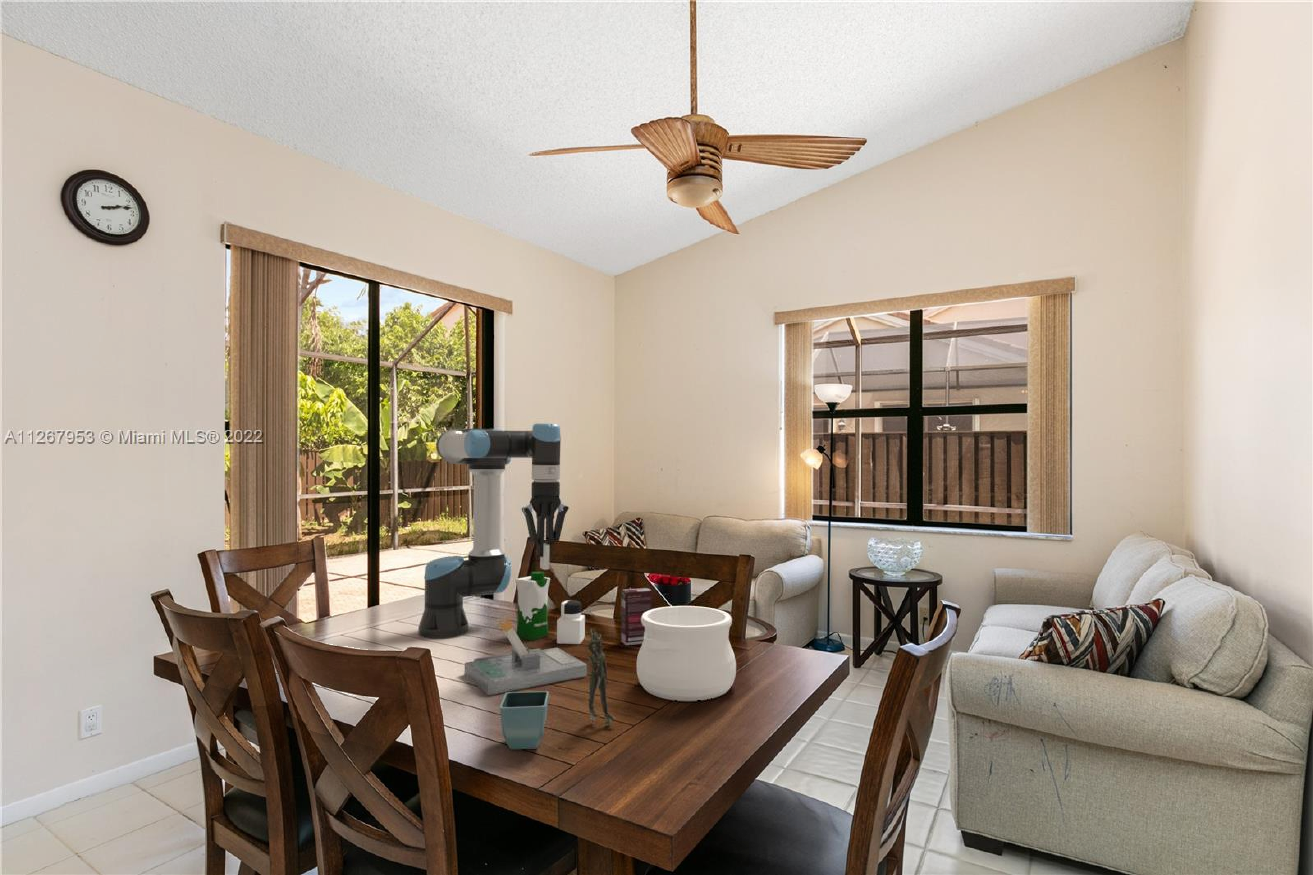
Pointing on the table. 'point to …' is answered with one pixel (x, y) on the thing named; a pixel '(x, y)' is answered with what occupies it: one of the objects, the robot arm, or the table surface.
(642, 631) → the supplement box
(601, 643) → the statue
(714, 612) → the pot
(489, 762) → the table surface
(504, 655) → the cords
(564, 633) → the medicine bottle
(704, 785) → the table surface
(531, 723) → the flower pot
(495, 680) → the panel
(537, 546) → the robot arm
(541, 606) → the milk carton
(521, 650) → the lever
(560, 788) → the table surface
